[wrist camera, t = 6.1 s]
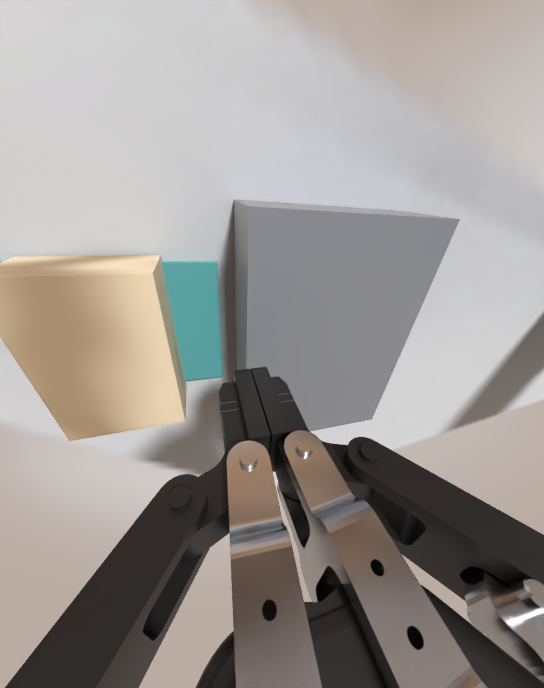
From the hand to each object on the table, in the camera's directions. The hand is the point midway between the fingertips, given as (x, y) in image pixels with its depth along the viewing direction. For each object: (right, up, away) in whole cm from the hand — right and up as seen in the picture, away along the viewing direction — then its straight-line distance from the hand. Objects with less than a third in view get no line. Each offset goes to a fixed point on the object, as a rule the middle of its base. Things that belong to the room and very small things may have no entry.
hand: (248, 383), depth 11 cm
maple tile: (-7, +1, +2) cm, 7 cm away
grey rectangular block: (+4, +3, +6) cm, 8 cm away
